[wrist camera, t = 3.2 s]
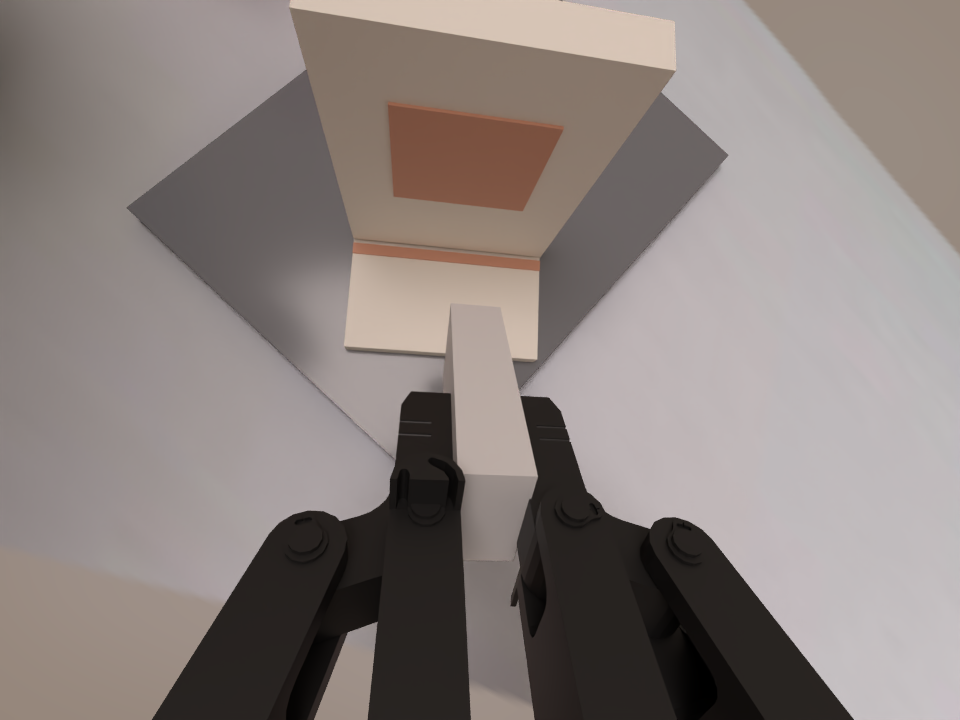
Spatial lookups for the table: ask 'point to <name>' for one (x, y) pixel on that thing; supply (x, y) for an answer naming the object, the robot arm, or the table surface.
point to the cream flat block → (476, 111)
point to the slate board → (329, 241)
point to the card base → (436, 296)
